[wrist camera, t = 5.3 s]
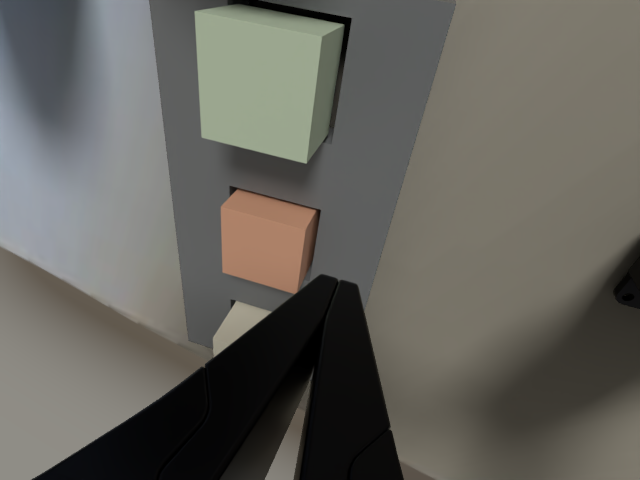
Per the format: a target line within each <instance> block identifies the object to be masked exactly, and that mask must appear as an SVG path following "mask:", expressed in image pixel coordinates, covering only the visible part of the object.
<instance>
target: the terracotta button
mask: <svg viewBox="0 0 640 480" xmlns="http://www.w3.org/2000/svg"><path fill="white" fill-rule="evenodd" d="M320 213H321V210H320V209H316V208H312V207H308V206H305V205H301V204H297V203H293V202H290V201H286V200H282V199H278V198H274V197H271V196H267V195H263V194H259V193H256V192H252V191H248V190H244V189H240V188H238V189H237V190H236V191H235V192H234V193H233V194H232V195H231V196H230V197H229V198H228V199H227V201H226V202H225V203H224V204H223V205H222V206H221V236H222V272H223V273H226V274H229V275H233V276H236V277H239V278H243V279H246V280H250V281H253V282H256V283H260V284H263V285H266V286H270V287H273V288H276V289H280V290H283V291H286V292H290V293H293V294H295V293H297V292H298V291H299V289H300V286H301V284H302V282H303V280H304V278H305V276H306V274H307V271H308V269H309V267H310V265H311V263H312V261H313V257H314V251H315V245H316V238H317V232H318V226H319V220H320Z"/></svg>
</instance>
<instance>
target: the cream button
mask: <svg viewBox="0 0 640 480" xmlns="http://www.w3.org/2000/svg"><path fill="white" fill-rule="evenodd" d="M270 313H271V311H268V310H265V309H261V308H258V307H255V306H252V305H248V304H245V303H242V302H239V301H236V302H235V304H234V306H233V307H232V309H231V310H230V312H229V313H228V315H227V317H226V318H225V320H224V321H223V323H222V324H221V326H220V327H219V329H218V331H217V332H216V334H215V335H214V337H213V352H214V357H215V356H216V355H217V354H219V353H220V352H221V351H222V350H224V349H225V348H226V347H228V346H229V345H230V344H231V343H233V342H234V341H235V340H237V339H238V338H239V337H240V336H242V335H243V334H244V333H245V332H247V331H248V330H249V329H251V328H252V327H253V326H254V325H256V324H257V323H258V322H260V321H261V320H262V319H263V318H265V317H266V316H267V315H268V314H270Z"/></svg>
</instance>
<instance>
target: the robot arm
mask: <svg viewBox="0 0 640 480" xmlns="http://www.w3.org/2000/svg"><path fill="white" fill-rule="evenodd" d="M627 293H630V294H629V295H626V296H623V295H624V294H627ZM613 294H614V297H615V299H616V300H617V301H618V303H621V304H623V305H627V306H631V307H634V308H638V309H640V257H639V259H638V260H637V261H636V262H635V263H634V265H633V266H632V267H631V268H630V269H629V273H628V274H627V275H626V276H625V277H624V279H623V280H622V281H621V282H620V283H619V285H618V286H617V287H616V288H615V289H614V291H613ZM312 373H313V375H312ZM311 375H312V380H311V385H310V390H309V396H308V401H307V407H306V412H305V418H304V424H303V429H302V435H301V441H300V446H299V452H298V457H297V463H296V469H295V475H294V480H404V478H403V474H402V470H401V467H400V463H399V459H398V455H397V451H396V447H395V442H394V438H393V434H392V431H391V430H389V429H390V421H389V417H388V413H387V408H386V404H385V400H384V395H383V391H382V387H381V382H380V378H379V374H378V369H377V365H376V360H375V356H374V352H373V347H372V343H371V339H370V334H369V330H368V326H367V321H366V317H365V313H364V308H363V304H362V299H361V295H360V291H359V287H358V285H357V284H356V283H353V282H349V281H346V280H340V281H339V282H338V279H337V278H335V277H332V276H328V275H325V274H320V275H318V276H317V277H316V278H314V279H313V280H312V281H311V282H309V283H308V284H307V285H305V286H304V287H303V288H302V289H300V290H299V291H298V292H297V293H295V294H294V295H293V296H291V297H290V298H289V299H288V300H286V301H285V302H284V303H282V304H281V305H280V306H279V307H277V308H276V309H275V310H274V311H272V312H271V313H270V314H268V315H267V316H266V317H265V318H263V319H262V320H261V321H260V322H258V323H257V324H256V325H254V326H253V327H252V328H251V329H249V330H248V331H247V332H245V333H244V334H243V335H242V336H240V337H239V338H238V339H237V340H235V341H234V342H233V343H231V344H230V345H229V346H228V347H226V348H225V349H224V350H222V351H221V352H220V353H219V354H217V355H216V356H215V357H214V358H212V359H211V360H210V361H208V362H207V363H206V364H205V368H204V367H200V369H198V370H197V371H195V372H194V373H193V374H192V375H190V376H189V377H188V378H186V379H185V380H184V381H183V382H181V383H180V384H179V385H177V386H176V387H175V388H173V389H172V390H170V391H169V392H168V393H166V394H165V395H164V396H162V397H161V398H160V399H158V400H156V401H155V402H153V403H152V404H150V405H149V406H147V407H146V408H145V409H143V410H141V411H140V412H138V413H137V414H135V415H134V416H132V417H131V418H129V419H128V420H126V421H125V422H123V423H121V424H120V425H118V426H117V427H115V428H114V429H112V430H110V431H109V432H107V433H106V434H104V435H102V436H101V437H99V438H98V439H96V440H95V441H93V442H91V443H90V444H88V445H87V446H85V447H83V448H82V449H80V450H79V451H77V452H76V453H74V454H72V455H71V456H69V457H68V458H66V459H64V460H63V461H61V462H60V463H58V464H57V465H55V466H53V467H52V468H50V469H49V470H47V471H45V472H44V473H42V474H40V475H39V476H37V477H35V478H33V479H32V480H265V477H266V475H267V473H268V471H269V468H270V466H271V464H272V462H273V460H274V458H275V455H276V453H277V451H278V449H279V446H280V444H281V442H282V440H283V438H284V435H285V433H286V431H287V429H288V427H289V425H290V422H291V420H292V418H293V416H294V414H295V411H296V409H297V407H298V405H299V403H300V400H301V398H302V396H303V394H304V392H305V389H306V387H307V385H308V383H309V380H310V378H311Z"/></svg>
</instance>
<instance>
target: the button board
mask: <svg viewBox="0 0 640 480" xmlns="http://www.w3.org/2000/svg"><path fill="white" fill-rule="evenodd" d="M260 1H266V2H271V3H276V4H281V5H286V6H292V7H297V8H302V9H307V10H312V11H318V12H323V13H328V14H333V15H339V16H344V17H349V18H352V21H351V27H350V33H349V40H348V46H347V52H346V58H345V64H344V71H343V77H342V83H341V89H340V96H339V102H338V108H337V114H336V120H335V127H334V128H331V127H329V133H328V135H327V136H326V138H325V139H324V140H323V142H322V143H321V145H320V146H319V147H318V149H317V150H316V151H315V153H314V154H313V155H312V157H311V158H310V160H309V161H308V162H307V164H306V163H301V162H297V161H293V160H289V159H285V158H281V157H277V156H273V155H269V154H265V153H261V152H257V151H253V150H249V149H245V148H241V147H237V146H233V145H229V144H225V143H221V142H217V141H213V140H209V139H205V138H202V136H201V118H200V100H199V82H198V64H197V46H196V29H195V11H198V10H204V9H210V8H216V7H222V6H228V5H235V4H243V5H248V0H149V3H150V11H151V20H152V29H153V37H154V46H155V54H156V63H157V72H158V80H159V89H160V98H161V106H162V115H163V123H164V132H165V141H166V149H167V158H168V167H169V175H170V184H171V192H172V201H173V210H174V218H175V227H176V236H177V244H178V253H179V261H180V270H181V279H182V287H183V296H184V305H185V313H186V322H187V330H188V339H189V341H191V342H194V343H197V344H200V345H203V346H206V347H209V348H212V349H213V337H214V335H215V334H216V332H217V331H218V329H219V327H220V326H221V324H222V323H223V321H224V320H225V318H226V317H227V315H228V313H229V312H230V310H231V309H232V307H233V306H234V304H235V302H236V301H239V302H242V303H245V304H248V305H252V306H255V307H258V308H261V309H265V310H268V311H271V312H272V311H274V310H275V309H276V308H277V307H279V306H280V305H281V304H282V303H284V302H285V301H286V300H288V299H289V298H290V297H291V296H293V295H294V294H293V293H290V292H286V291H283V290H280V289H276V288H273V287H270V286H266V285H263V284H260V283H256V282H253V281H250V280H246V279H243V278H239V277H236V276H233V275H229V274H226V273H223V272H222V236H221V206H222V205H223V204H224V203H225V202H226V201H227V199H228V198H229V197H230V196H231V195H232V194H233V193H234V192H235V191H236V190H237V189H238V188H240V189H244V190H248V191H252V192H256V193H259V194H263V195H267V196H271V197H274V198H278V199H282V200H286V201H290V202H293V203H297V204H301V205H305V206H308V207H312V208H316V209H320V210H321V213H320V220H319V226H318V232H317V238H316V245H315V251H314V257H313V261H312V263H311V265H310V267H309V269H308V271H307V274H306V276H305V278H304V280H303V282H302V284H301V286H300V289H302V288H303V287H304V286H305V285H307V284H308V283H309V282H311V281H312V280H313V279H314V278H316V277H317V276H318V275H320V274H325V275H328V276H332V277H335V278H337V279H338V282H339V281H340V280H346V281H349V282H353V283H356V284H357V285H358V287H359V291H360V295H361V299H362V304H363V308H364V310H365V307H366V304H367V300H368V297H369V294H370V290H371V287H372V284H373V280H374V277H375V274H376V270H377V267H378V264H379V260H380V257H381V253H382V250H383V247H384V243H385V240H386V237H387V233H388V230H389V227H390V223H391V220H392V217H393V213H394V210H395V207H396V203H397V200H398V197H399V193H400V190H401V187H402V183H403V180H404V177H405V173H406V170H407V167H408V163H409V160H410V156H411V153H412V150H413V146H414V143H415V140H416V136H417V133H418V130H419V126H420V123H421V120H422V116H423V113H424V110H425V106H426V103H427V100H428V96H429V93H430V90H431V86H432V83H433V80H434V76H435V73H436V70H437V66H438V63H439V59H440V56H441V53H442V49H443V46H444V43H445V39H446V36H447V33H448V29H449V26H450V23H451V19H452V16H453V13H454V9H455V6H456V1H455V0H260ZM300 289H299V290H300ZM312 375H313V373H312ZM312 375H311V378H310V380H309V381H311V380H312Z"/></svg>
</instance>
